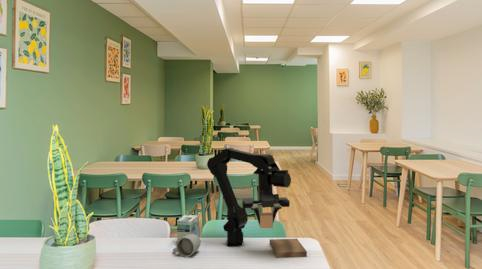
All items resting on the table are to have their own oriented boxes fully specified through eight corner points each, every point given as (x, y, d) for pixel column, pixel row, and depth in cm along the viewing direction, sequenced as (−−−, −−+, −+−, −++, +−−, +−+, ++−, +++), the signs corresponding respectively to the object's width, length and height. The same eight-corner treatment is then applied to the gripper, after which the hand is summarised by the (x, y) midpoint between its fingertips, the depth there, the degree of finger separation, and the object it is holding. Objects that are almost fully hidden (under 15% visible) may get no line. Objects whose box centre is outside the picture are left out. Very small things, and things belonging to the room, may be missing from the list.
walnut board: (276, 257, 141) (276, 252, 141) (269, 244, 157) (269, 239, 157) (306, 256, 142) (306, 251, 142) (296, 243, 158) (296, 238, 158)
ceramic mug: (201, 250, 150) (201, 232, 150) (194, 257, 142) (193, 238, 142) (178, 249, 153) (177, 230, 152) (169, 256, 145) (168, 236, 144)
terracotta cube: (260, 228, 146) (260, 215, 146) (259, 224, 151) (258, 212, 151) (272, 227, 146) (272, 215, 146) (271, 224, 151) (270, 212, 151)
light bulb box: (191, 246, 155) (191, 221, 155) (176, 245, 157) (176, 220, 156) (199, 238, 166) (199, 214, 166) (185, 237, 167) (185, 214, 167)
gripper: (243, 189, 139) (244, 230, 140) (292, 188, 141) (292, 228, 141) (241, 184, 151) (242, 222, 151) (286, 183, 152) (287, 221, 152)
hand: (265, 223), depth 149 cm, fingers closed on terracotta cube, 5 cm apart
